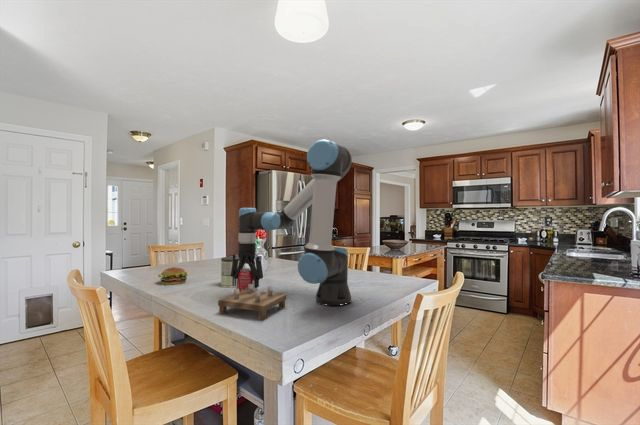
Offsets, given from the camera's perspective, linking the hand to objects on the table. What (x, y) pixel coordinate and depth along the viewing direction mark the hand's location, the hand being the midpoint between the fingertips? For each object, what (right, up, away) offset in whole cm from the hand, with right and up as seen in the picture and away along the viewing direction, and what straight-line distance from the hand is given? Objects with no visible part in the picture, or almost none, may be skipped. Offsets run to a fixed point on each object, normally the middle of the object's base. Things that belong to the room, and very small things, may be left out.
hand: (246, 293), depth 137 cm
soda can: (0, -1, 0) cm, 1 cm away
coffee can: (-13, -2, +22) cm, 26 cm away
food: (-45, -1, +27) cm, 53 cm away
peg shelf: (+7, -1, -20) cm, 21 cm away
